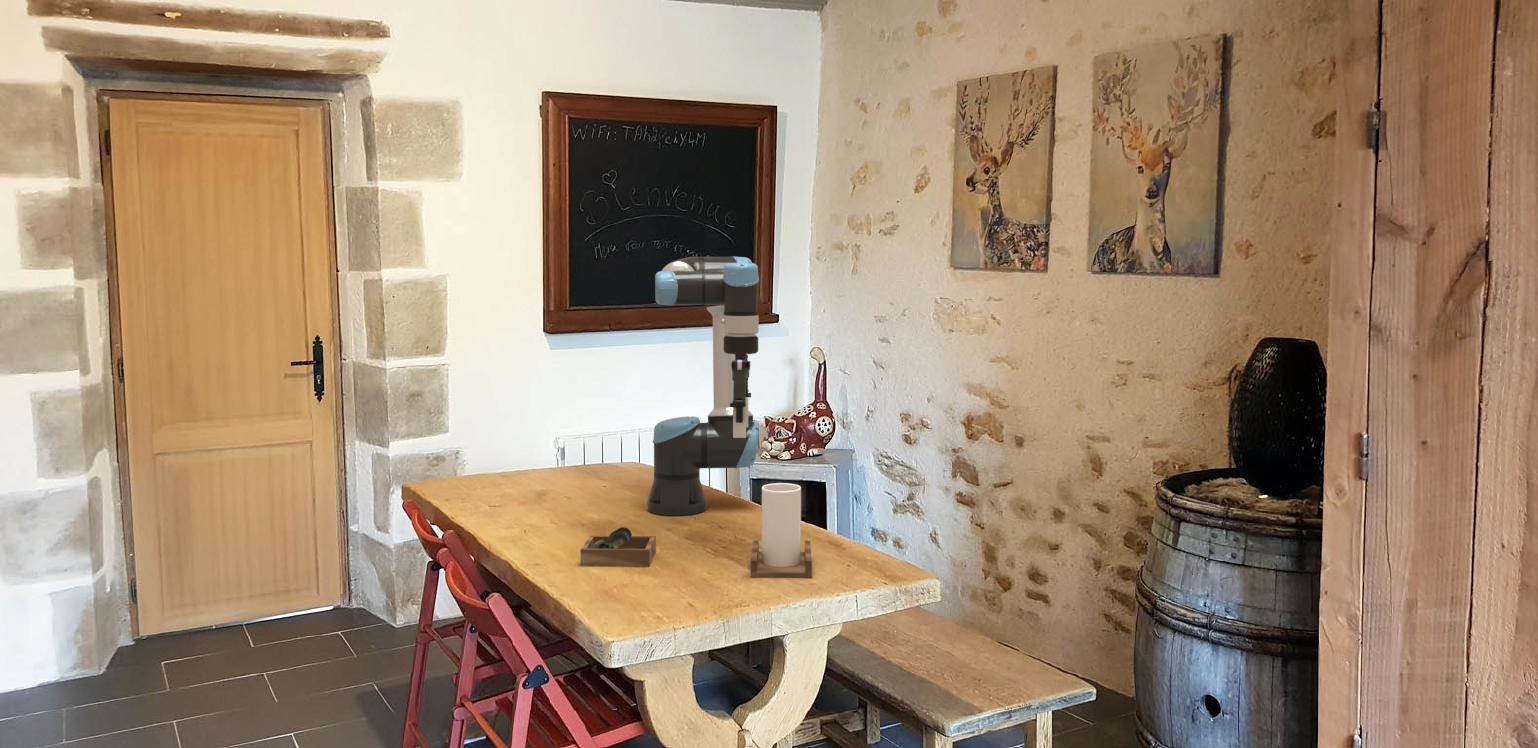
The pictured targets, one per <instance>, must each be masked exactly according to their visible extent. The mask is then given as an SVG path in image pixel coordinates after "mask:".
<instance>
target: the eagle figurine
mask: <svg viewBox="0 0 1538 748" xmlns="http://www.w3.org/2000/svg"><path fill="white" fill-rule="evenodd" d="M608 536H609V539H608V542H607V543H605V542H604V541H603V540H599V541H598V542H596V543H595V544H594V546H593V548H594V549H620V548H621V547H622V545H623V544H624V543H627V542H629V541H630V540H631V539H630V538H631V537H632V536H633V533H632V532H631V530H630V529H629V528H628V527H624V526H622V527H620V528H618V529H616V530H614V531H612V532H610V534H609V535H608Z"/></svg>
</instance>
